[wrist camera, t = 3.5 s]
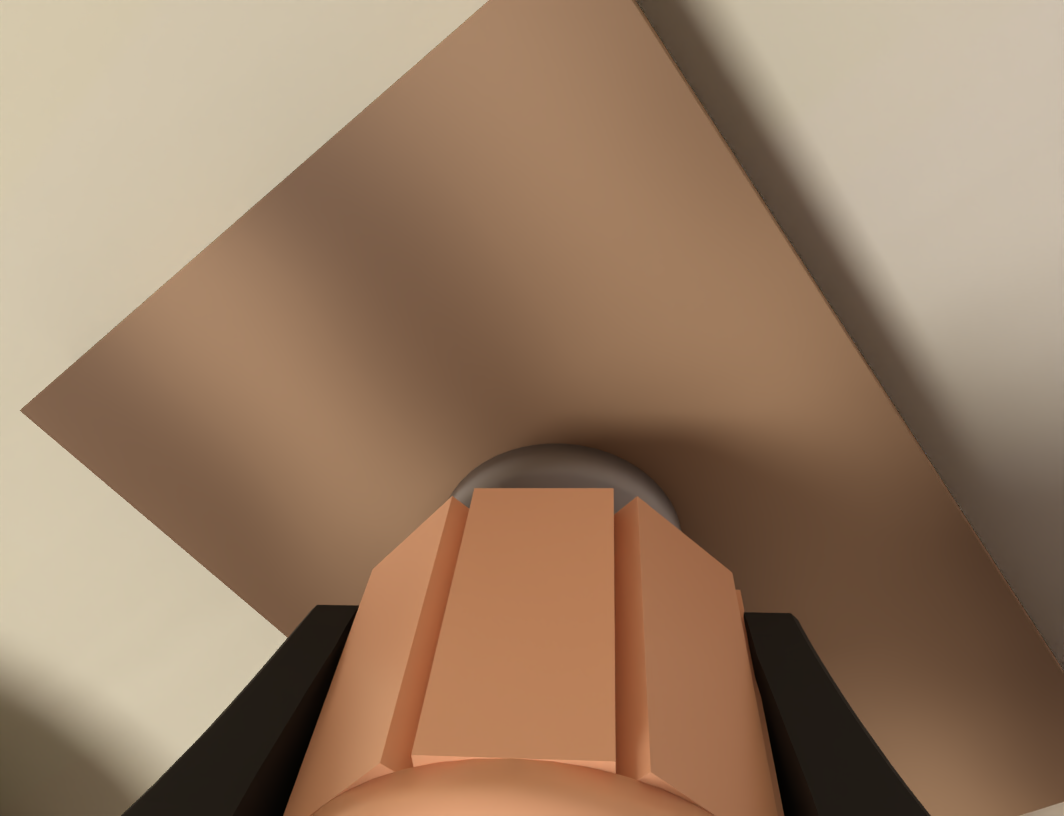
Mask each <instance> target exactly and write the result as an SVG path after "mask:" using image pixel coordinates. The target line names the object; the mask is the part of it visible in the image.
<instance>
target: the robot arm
mask: <svg viewBox="0 0 1064 816" xmlns="http://www.w3.org/2000/svg"><path fill="white" fill-rule="evenodd" d="M358 608H359V605H316V606H315V607H314V608H313V609H312V610H311V611H310V612H309V613H308V614H307V616H306V617H305V618H304V619H303V620H302V622H301V623H300V624H299V625H298V626H297V627H296V629H295V630H294V631H293V632H292V633H291V635H290V636H289V637H288V638H287V639H286V640H285V642H284V643H283V644H282V645H281V646H280V648H279V649H278V650H277V651H276V652H275V654H274V655H273V656H272V657H271V658H270V659H269V661H268V662H267V663H266V664H265V665H264V666H263V668H262V669H261V670H260V671H259V672H258V673H257V674H256V676H255V677H254V678H253V679H252V680H251V681H250V683H249V684H248V685H247V686H246V687H245V688H244V689H243V690H242V692H241V693H240V694H239V695H238V696H237V697H236V698H235V699H234V700H233V702H232V703H231V704H230V705H229V706H228V707H227V708H226V709H225V710H224V711H223V713H222V714H221V715H220V716H219V717H218V718H217V719H216V720H215V721H214V723H213V724H212V725H211V726H210V727H209V728H208V729H207V730H206V731H205V732H204V733H203V734H202V736H201V737H200V738H199V739H198V740H197V741H196V742H195V743H194V744H193V745H192V746H191V747H190V748H189V749H188V750H187V751H186V752H185V753H184V754H183V755H182V756H181V757H180V758H179V759H178V760H177V761H176V762H175V763H174V764H173V765H172V766H171V767H170V768H169V769H168V770H167V771H166V772H165V773H164V774H163V775H162V776H161V777H160V778H159V780H158V781H157V782H156V783H155V784H154V785H153V786H152V787H151V788H149V789H148V790H147V791H146V792H145V793H144V794H143V795H142V796H141V797H140V798H139V799H138V800H137V801H136V802H135V803H134V804H133V805H132V806H131V807H130V808H129V809H128V810H126V811H125V812H124V813H123V814H122V815H121V816H283V815H284V812H285V809H286V806H287V804H288V801H289V798H290V795H291V793H292V790H293V787H294V784H295V782H296V779H297V776H298V773H299V771H300V768H301V765H302V762H303V760H304V757H305V754H306V751H307V748H308V746H309V743H310V740H311V737H312V735H313V732H314V729H315V726H316V724H317V721H318V718H319V715H320V713H321V710H322V707H323V704H324V702H325V699H326V696H327V693H328V691H329V688H330V685H331V682H332V680H333V677H334V674H335V671H336V669H337V666H338V663H339V660H340V658H341V655H342V652H343V649H344V646H345V644H346V641H347V638H348V635H349V633H350V630H351V627H352V624H353V622H354V619H355V616H356V613H357V611H358ZM744 622H745V628H746V633H747V638H748V643H749V648H750V654H751V659H752V664H753V669H754V674H755V679H756V682H757V685H758V688H759V692H760V695H761V699H762V704H763V709H764V714H765V719H766V724H767V730H768V735H769V740H770V745H771V750H772V755H773V760H774V766H775V771H776V776H777V781H778V786H779V791H780V796H781V802H782V807H783V812H784V816H931V815H930V814H929V813H928V811H927V810H926V809H925V808H924V806H923V805H922V804H921V803H920V801H919V800H918V799H917V797H916V796H915V795H914V794H913V792H912V791H911V790H910V789H909V787H908V786H907V785H906V783H905V782H904V781H903V779H902V778H901V777H900V775H899V774H898V773H897V771H896V770H895V769H894V767H893V766H892V765H891V763H890V762H889V760H888V759H887V758H886V756H885V755H884V753H883V752H882V751H881V749H880V748H879V746H878V745H877V743H876V742H875V741H874V739H873V738H872V736H871V735H870V734H869V732H868V731H867V729H866V728H865V727H864V725H863V724H862V722H861V721H860V719H859V718H858V717H857V715H856V714H855V712H854V711H853V709H852V708H851V706H850V705H849V703H848V702H847V700H846V699H845V697H844V696H843V694H842V692H841V691H840V689H839V688H838V686H837V685H836V683H835V682H834V680H833V678H832V677H831V675H830V674H829V672H828V670H827V669H826V667H825V666H824V664H823V662H822V661H821V659H820V657H819V656H818V654H817V652H816V651H815V649H814V647H813V646H812V644H811V642H810V640H809V639H808V637H807V635H806V633H805V632H804V630H803V628H802V626H801V624H800V622H799V621H798V619H797V618H796V617H794V616H793V615H792V614H791V613H762V612H744Z"/></svg>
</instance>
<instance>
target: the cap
mask: <svg viewBox="0 0 1064 816" xmlns="http://www.w3.org/2000/svg"><path fill="white" fill-rule="evenodd" d="M744 612H745V611H744V606H743V601H742V596H741V591H740V590H736V589H735V584H734V579H733V573H732V572H731V571H730V570H728V569H727V568H726V567H725V566H723V565H722V564H721V563H720V562H719V561H717V560H716V559H715V558H714V557H712V556H711V555H710V554H709V553H707V552H706V551H705V550H704V549H702V548H701V547H700V546H699V545H697V544H696V543H695V542H694V541H692V540H691V539H690V538H689V537H688V536H686V535H685V534H684V533H683V532H681V531H680V530H679V529H678V528H676V527H675V526H674V525H673V524H671V523H670V522H669V521H668V520H666V519H665V518H664V517H663V516H662V515H660V514H659V513H658V512H657V511H655V510H654V509H653V508H652V507H650V506H649V505H648V504H647V503H645V502H644V501H643V500H642V499H640V498H639V497H638V496H637V497H636V498H634V499H633V500H632V501H631V502H629V503H628V504H627V505H626V506H624V507H623V508H622V509H620V510H619V511H618V512H617V513H615V514H614V488H474V491H473V496H472V500H471V504H470V508H468V507H467V506H465V505H464V504H462V503H461V502H460V501H458V500H457V499H456V498H454V497H453V496H452V497H451V498H450V499H448V500H447V501H446V502H445V503H444V504H443V505H442V506H441V507H440V508H439V509H438V510H436V511H435V512H434V513H433V514H432V515H431V516H430V517H429V518H428V519H427V520H426V521H424V522H423V523H422V524H421V525H420V526H419V527H418V528H417V529H416V530H415V531H414V532H413V533H411V534H410V535H409V536H408V537H407V538H406V539H405V540H404V541H403V542H402V543H401V544H399V545H398V546H397V547H396V548H395V549H394V550H393V551H392V552H391V553H390V554H389V555H387V556H386V557H385V558H384V559H383V560H382V561H381V562H380V563H379V564H378V565H377V566H376V567H374V568H373V569H372V572H371V575H370V578H369V580H368V583H367V586H366V589H365V591H364V594H363V597H362V600H361V602H360V605H359V608H358V611H357V613H356V616H355V619H354V622H353V624H352V627H351V630H350V633H349V635H348V638H347V641H346V644H345V646H344V649H343V652H342V655H341V658H340V660H339V663H338V666H337V669H336V671H335V674H334V677H333V680H332V682H331V685H330V688H329V691H328V693H327V696H326V699H325V702H324V704H323V707H322V710H321V713H320V715H319V718H318V721H317V724H316V726H315V729H314V732H313V735H312V737H311V740H310V743H309V746H308V748H307V751H306V754H305V757H304V760H303V762H302V765H301V768H300V771H299V773H298V776H297V779H296V782H295V784H294V787H293V790H292V793H291V795H290V798H289V801H288V804H287V806H286V809H285V812H284V815H283V816H784V812H783V807H782V802H781V796H780V791H779V786H778V781H777V776H776V771H775V766H774V760H773V755H772V750H771V745H770V740H769V735H768V730H767V724H766V719H765V714H764V709H763V704H762V699H761V695H760V692H759V688H758V685H757V682H756V679H755V674H754V669H753V664H752V659H751V654H750V648H749V643H748V638H747V633H746V628H745V622H744Z"/></svg>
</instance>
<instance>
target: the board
mask: <svg viewBox="0 0 1064 816" xmlns="http://www.w3.org/2000/svg"><path fill="white" fill-rule="evenodd" d="M20 411H21V412H22V413H23V414H24V415H26V416H27V417H28V418H29V419H30V420H32V421H33V422H34V423H35V424H36V425H37V426H39V427H40V428H41V429H42V430H43V431H45V432H46V433H47V434H48V435H49V436H50V437H52V438H53V439H54V440H55V441H56V442H58V443H59V444H60V445H61V446H62V447H63V448H65V449H66V450H67V451H68V452H69V453H71V454H72V455H73V456H74V457H75V458H76V459H78V460H79V461H80V462H81V463H82V464H84V465H85V466H86V467H87V468H88V469H89V470H91V471H92V472H93V473H94V474H95V475H96V476H98V477H99V478H100V479H101V480H102V481H104V482H105V483H106V484H107V485H108V486H109V487H111V488H112V489H113V490H114V491H115V492H117V493H118V494H119V495H120V496H121V497H122V498H124V499H125V500H126V501H127V502H128V503H130V504H131V505H132V506H133V507H134V508H135V509H137V510H138V511H139V512H140V513H141V514H143V515H144V516H145V517H146V518H147V519H148V520H150V521H151V522H152V523H153V524H154V525H156V526H157V527H158V528H159V529H160V530H161V531H163V532H164V533H165V534H166V535H167V536H169V537H170V538H171V539H172V540H173V541H174V542H176V543H177V544H178V545H179V546H180V547H181V548H183V549H184V550H185V551H186V552H187V553H189V554H190V555H191V556H192V557H193V558H194V559H196V560H197V561H198V562H199V563H200V564H202V565H203V566H204V567H205V568H206V569H207V570H209V571H210V572H211V573H212V574H213V575H215V576H216V577H217V578H218V579H219V580H220V581H222V582H223V583H224V584H225V585H226V586H228V587H229V588H230V589H231V590H232V591H233V592H235V593H236V594H237V595H238V596H239V597H241V598H242V599H243V600H244V601H245V602H246V603H248V604H249V605H250V606H251V607H252V608H254V609H255V610H256V611H257V612H258V613H259V614H261V615H262V616H263V617H264V618H265V619H267V620H268V621H269V622H270V623H271V624H272V625H274V626H275V627H276V628H277V629H278V630H279V631H281V632H282V633H283V634H284V635H285V636H287V637H289V636H290V635H291V633H292V632H293V631H294V630H295V629H296V627H297V626H298V625H299V624H300V623H301V622H302V620H303V619H304V618H305V617H306V616H307V614H308V613H309V612H310V611H311V610H312V609H313V608H314V607H315V606H316V605H360V602H361V600H362V597H363V594H364V591H365V589H366V586H367V583H368V580H369V578H370V575H371V572H372V569H373V568H374V567H376V566H377V565H378V564H379V563H380V562H381V561H382V560H383V559H384V558H385V557H386V556H387V555H389V554H390V553H391V552H392V551H393V550H394V549H395V548H396V547H397V546H398V545H399V544H401V543H402V542H403V541H404V540H405V539H406V538H407V537H408V536H409V535H410V534H411V533H413V532H414V531H415V530H416V529H417V528H418V527H419V526H420V525H421V524H422V523H423V522H424V521H426V520H427V519H428V518H429V517H430V516H431V515H432V514H433V513H434V512H435V511H436V510H438V509H439V508H440V507H441V506H442V505H443V504H444V503H445V502H446V501H447V500H448V499H450V498H451V497H452V496H453V497H454V498H456V499H457V500H458V501H460V502H461V503H462V504H464V505H465V506H467V507H468V508H470V504H471V500H472V496H473V491H474V488H614V514H615V513H617V512H618V511H619V510H620V509H622V508H623V507H624V506H626V505H627V504H628V503H629V502H631V501H632V500H633V499H634V498H636V497H637V496H638V497H639V498H640V499H642V500H643V501H644V502H645V503H647V504H648V505H649V506H650V507H652V508H653V509H654V510H655V511H657V512H658V513H659V514H660V515H662V516H663V517H664V518H665V519H666V520H668V521H669V522H670V523H671V524H673V525H674V526H675V527H676V528H678V529H679V530H680V531H681V532H683V533H684V534H685V535H686V536H688V537H689V538H690V539H691V540H692V541H694V542H695V543H696V544H697V545H699V546H700V547H701V548H702V549H704V550H705V551H706V552H707V553H709V554H710V555H711V556H712V557H714V558H715V559H716V560H717V561H719V562H720V563H721V564H722V565H723V566H725V567H726V568H727V569H728V570H730V571H731V572H732V573H733V579H734V584H735V589H736V590H740V591H741V596H742V601H743V606H744V611H745V612H762V613H791V614H792V615H793V616H794V617H796V618H797V619H798V621H799V622H800V624H801V626H802V628H803V630H804V632H805V633H806V635H807V637H808V639H809V640H810V642H811V644H812V646H813V647H814V649H815V651H816V652H817V654H818V656H819V657H820V659H821V661H822V662H823V664H824V666H825V667H826V669H827V670H828V672H829V674H830V675H831V677H832V678H833V680H834V682H835V683H836V685H837V686H838V688H839V689H840V691H841V692H842V694H843V696H844V697H845V699H846V700H847V702H848V703H849V705H850V706H851V708H852V709H853V711H854V712H855V714H856V715H857V717H858V718H859V719H860V721H861V722H862V724H863V725H864V727H865V728H866V729H867V731H868V732H869V734H870V735H871V736H872V738H873V739H874V741H875V742H876V743H877V745H878V746H879V748H880V749H881V751H882V752H883V753H884V755H885V756H886V758H887V759H888V760H889V762H890V763H891V765H892V766H893V767H894V769H895V770H896V771H897V773H898V774H899V775H900V777H901V778H902V779H903V781H904V782H905V783H906V785H907V786H908V787H909V789H910V790H911V791H912V792H913V794H914V795H915V796H916V797H917V799H918V800H919V801H920V803H921V804H922V805H923V806H924V808H925V809H926V810H927V811H928V813H929V814H930V815H931V816H1064V671H1063V669H1062V667H1061V666H1060V664H1059V663H1058V661H1057V660H1056V658H1055V656H1054V655H1053V653H1052V652H1051V650H1050V649H1049V647H1048V646H1047V644H1046V642H1045V641H1044V639H1043V638H1042V636H1041V635H1040V633H1039V631H1038V630H1037V628H1036V627H1035V625H1034V624H1033V622H1032V620H1031V619H1030V617H1029V616H1028V614H1027V613H1026V611H1025V610H1024V608H1023V606H1022V605H1021V603H1020V602H1019V600H1018V599H1017V597H1016V595H1015V594H1014V592H1013V591H1012V589H1011V588H1010V586H1009V584H1008V583H1007V581H1006V580H1005V578H1004V577H1003V575H1002V574H1001V572H1000V570H999V569H998V567H997V566H996V564H995V563H994V561H993V559H992V558H991V556H990V555H989V553H988V552H987V550H986V548H985V547H984V545H983V544H982V542H981V541H980V539H979V538H978V536H977V534H976V533H975V531H974V530H973V528H972V527H971V525H970V523H969V522H968V520H967V519H966V517H965V516H964V514H963V512H962V511H961V509H960V508H959V506H958V505H957V503H956V501H955V500H954V498H953V497H952V495H951V494H950V492H949V491H948V489H947V487H946V486H945V484H944V483H943V481H942V480H941V478H940V476H939V475H938V473H937V472H936V470H935V469H934V467H933V465H932V464H931V462H930V461H929V459H928V458H927V456H926V455H925V453H924V451H923V450H922V448H921V447H920V445H919V444H918V442H917V440H916V439H915V437H914V436H913V434H912V433H911V431H910V429H909V428H908V426H907V425H906V423H905V422H904V420H903V419H902V417H901V415H900V414H899V412H898V411H897V409H896V408H895V406H894V404H893V403H892V401H891V400H890V398H889V397H888V395H887V393H886V392H885V390H884V389H883V387H882V386H881V384H880V383H879V381H878V379H877V378H876V376H875V375H874V373H873V372H872V370H871V368H870V367H869V365H868V364H867V362H866V361H865V359H864V357H863V356H862V354H861V353H860V351H859V350H858V348H857V346H856V345H855V343H854V342H853V340H852V339H851V337H850V336H849V334H848V332H847V331H846V329H845V328H844V326H843V325H842V323H841V321H840V320H839V318H838V317H837V315H836V314H835V312H834V310H833V309H832V307H831V306H830V304H829V303H828V301H827V300H826V298H825V296H824V295H823V293H822V292H821V290H820V289H819V287H818V285H817V284H816V282H815V281H814V279H813V278H812V276H811V274H810V273H809V271H808V270H807V268H806V267H805V265H804V264H803V262H802V260H801V259H800V257H799V256H798V254H797V253H796V251H795V249H794V248H793V246H792V245H791V243H790V242H789V240H788V238H787V237H786V235H785V234H784V232H783V231H782V229H781V228H780V226H779V224H778V223H777V221H776V220H775V218H774V217H773V215H772V213H771V212H770V210H769V209H768V207H767V206H766V204H765V202H764V201H763V199H762V198H761V196H760V195H759V193H758V192H757V190H756V188H755V187H754V185H753V184H752V182H751V181H750V179H749V177H748V176H747V174H746V173H745V171H744V170H743V168H742V166H741V165H740V163H739V162H738V160H737V159H736V157H735V155H734V154H733V152H732V151H731V149H730V148H729V146H728V145H727V143H726V141H725V140H724V138H723V137H722V135H721V134H720V132H719V130H718V129H717V127H716V126H715V124H714V123H713V121H712V119H711V118H710V116H709V115H708V113H707V112H706V110H705V109H704V107H703V105H702V104H701V102H700V101H699V99H698V98H697V96H696V94H695V93H694V91H693V90H692V88H691V87H690V85H689V83H688V82H687V80H686V79H685V77H684V76H683V74H682V73H681V71H680V69H679V68H678V66H677V65H676V63H675V62H674V60H673V58H672V57H671V55H670V54H669V52H668V51H667V49H666V47H665V46H664V44H663V43H662V41H661V40H660V38H659V37H658V35H657V33H656V32H655V30H654V29H653V27H652V26H651V24H650V22H649V21H648V19H647V18H646V16H645V15H644V13H643V11H642V10H641V8H640V7H639V5H638V4H637V2H636V0H489V1H488V2H487V3H485V4H484V5H483V6H482V7H481V8H480V9H479V10H477V11H476V12H475V13H474V14H473V15H472V16H471V17H469V18H468V19H467V20H466V21H465V22H464V23H463V24H461V25H460V26H459V27H458V28H457V29H456V30H455V31H453V32H452V33H451V34H450V35H449V36H448V37H447V38H445V39H444V40H443V41H442V42H441V43H440V44H439V45H437V46H436V47H435V48H434V49H433V50H432V51H431V52H429V53H428V54H427V55H426V56H425V57H424V58H423V59H421V60H420V61H419V62H418V63H417V64H416V65H415V66H413V67H412V68H411V69H410V70H409V71H408V72H407V73H405V74H404V75H403V76H402V77H401V78H400V79H398V80H397V81H396V82H395V83H394V84H393V85H392V86H390V87H389V88H388V89H387V90H386V91H385V92H384V93H382V94H381V95H380V96H379V97H378V98H377V99H376V100H374V101H373V102H372V103H371V104H370V105H369V106H368V107H366V108H365V109H364V110H363V111H362V112H361V113H360V114H358V115H357V116H356V117H355V118H354V119H353V120H352V121H350V122H349V123H348V124H347V125H346V126H345V127H344V128H342V129H341V130H340V131H339V132H338V133H337V134H336V135H334V136H333V137H332V138H331V139H330V140H329V141H328V142H326V143H325V144H324V145H323V146H322V147H321V148H320V149H318V150H317V151H316V152H315V153H314V154H313V155H312V156H310V157H309V158H308V159H307V160H306V161H305V162H304V163H302V164H301V165H300V166H299V167H298V168H297V169H296V170H294V171H293V172H292V173H291V174H290V175H289V176H287V177H286V178H285V179H284V180H283V181H282V182H281V183H279V184H278V185H277V186H276V187H275V188H274V189H273V190H271V191H270V192H269V193H268V194H267V195H266V196H265V197H263V198H262V199H261V200H260V201H259V202H258V203H257V204H255V205H254V206H253V207H252V208H251V209H250V210H249V211H247V212H246V213H245V214H244V215H243V216H242V217H241V218H239V219H238V220H237V221H236V222H235V223H234V224H233V225H231V226H230V227H229V228H228V229H227V230H226V231H225V232H223V233H222V234H221V235H220V236H219V237H218V238H217V239H215V240H214V241H213V242H212V243H211V244H210V245H209V246H207V247H206V248H205V249H204V250H203V251H202V252H201V253H199V254H198V255H197V256H196V257H195V258H194V259H193V260H191V261H190V262H189V263H188V264H187V265H186V266H185V267H183V268H182V269H181V270H180V271H179V272H178V273H176V274H175V275H174V276H173V277H172V278H171V279H170V280H168V281H167V282H166V283H165V284H164V285H163V286H162V287H160V288H159V289H158V290H157V291H156V292H155V293H154V294H152V295H151V296H150V297H149V298H148V299H147V300H146V301H144V302H143V303H142V304H141V305H140V306H139V307H138V308H136V309H135V310H134V311H133V312H132V313H131V314H130V315H128V316H127V317H126V318H125V319H124V320H123V321H122V322H120V323H119V324H118V325H117V326H116V327H115V328H114V329H112V330H111V331H110V332H109V333H108V334H107V335H106V336H104V337H103V338H102V339H101V340H100V341H99V342H98V343H96V344H95V345H94V346H93V347H92V348H91V349H90V350H88V351H87V352H86V353H85V354H84V355H83V356H82V357H80V358H79V359H78V360H77V361H76V362H75V363H74V364H72V365H71V366H70V367H69V368H68V369H67V370H65V371H64V372H63V373H62V374H61V375H60V376H59V377H57V378H56V379H55V380H54V381H53V382H52V383H51V384H49V385H48V386H47V387H46V388H45V389H44V390H43V391H41V392H40V393H39V394H38V395H37V396H36V397H35V398H33V399H32V400H31V401H30V402H29V403H28V404H27V405H25V406H24V407H23V408H22V409H21V410H20Z"/></svg>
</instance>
